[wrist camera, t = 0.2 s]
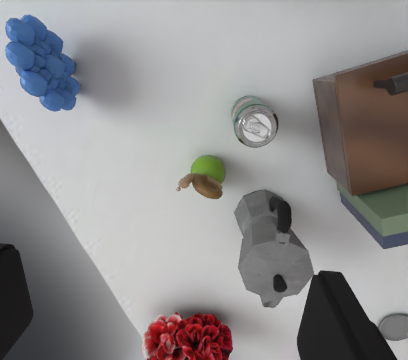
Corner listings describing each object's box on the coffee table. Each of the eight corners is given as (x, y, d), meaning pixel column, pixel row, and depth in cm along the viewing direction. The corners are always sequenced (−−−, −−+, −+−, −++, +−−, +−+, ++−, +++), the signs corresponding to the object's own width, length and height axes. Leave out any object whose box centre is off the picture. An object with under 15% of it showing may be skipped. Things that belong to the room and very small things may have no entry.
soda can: (243, 88, 41) (251, 96, 30) (271, 107, 42) (289, 120, 31) (225, 118, 43) (226, 135, 32) (252, 135, 44) (262, 157, 32)
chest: (312, 79, 40) (334, 82, 32) (411, 49, 38) (460, 43, 30) (327, 172, 45) (349, 193, 37) (415, 150, 43) (458, 167, 35)
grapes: (30, 28, 40) (-45, 11, 29) (74, 20, 39) (15, 1, 28) (55, 110, 44) (-1, 123, 33) (96, 105, 43) (52, 117, 32)
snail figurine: (194, 143, 45) (185, 168, 33) (230, 159, 45) (233, 189, 34) (182, 172, 47) (169, 204, 35) (216, 187, 47) (214, 223, 36)
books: (335, 176, 45) (381, 219, 32) (408, 158, 43) (487, 196, 30) (339, 202, 47) (384, 253, 34) (409, 186, 45) (485, 233, 32)
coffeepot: (281, 246, 51) (311, 333, 34) (230, 243, 51) (234, 326, 34) (296, 167, 45) (340, 225, 28) (238, 163, 45) (247, 218, 29)
